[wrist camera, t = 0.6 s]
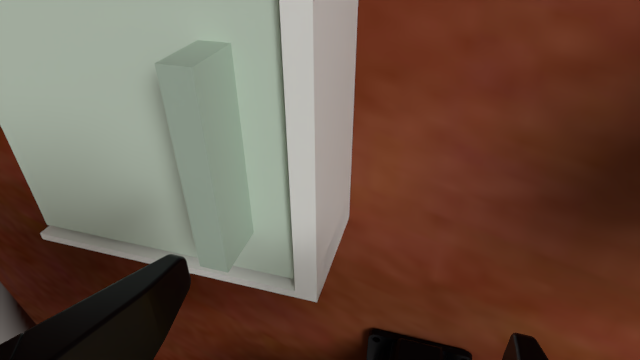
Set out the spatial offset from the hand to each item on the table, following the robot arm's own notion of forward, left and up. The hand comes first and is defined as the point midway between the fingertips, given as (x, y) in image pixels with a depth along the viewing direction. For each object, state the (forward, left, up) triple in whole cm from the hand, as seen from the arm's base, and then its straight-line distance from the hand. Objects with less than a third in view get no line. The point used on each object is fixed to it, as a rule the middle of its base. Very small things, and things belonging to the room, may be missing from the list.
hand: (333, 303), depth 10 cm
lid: (0, +10, -7) cm, 12 cm away
